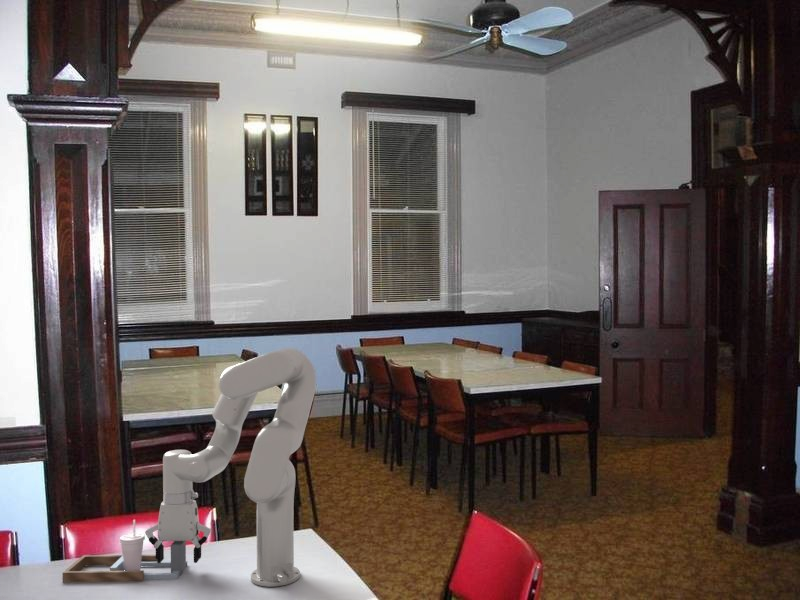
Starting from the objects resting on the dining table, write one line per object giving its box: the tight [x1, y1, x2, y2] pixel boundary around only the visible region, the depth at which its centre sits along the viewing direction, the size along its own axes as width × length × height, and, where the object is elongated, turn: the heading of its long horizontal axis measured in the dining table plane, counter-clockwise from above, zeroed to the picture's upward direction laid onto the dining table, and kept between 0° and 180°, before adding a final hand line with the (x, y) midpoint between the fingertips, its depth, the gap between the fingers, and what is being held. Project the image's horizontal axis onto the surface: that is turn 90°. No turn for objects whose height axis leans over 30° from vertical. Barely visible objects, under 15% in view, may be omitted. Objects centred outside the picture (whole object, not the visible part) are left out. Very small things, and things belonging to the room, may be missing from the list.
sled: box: [109, 541, 188, 580], centre depth 193 cm, size 18×9×8 cm, turn 90°
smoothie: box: [119, 519, 146, 571], centre depth 193 cm, size 6×6×14 cm
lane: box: [62, 554, 157, 583], centre depth 193 cm, size 21×12×2 cm, turn 90°
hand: (178, 561), depth 193 cm, fingers open, 9 cm apart
